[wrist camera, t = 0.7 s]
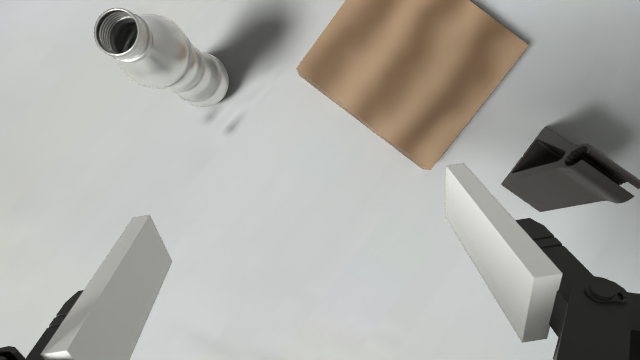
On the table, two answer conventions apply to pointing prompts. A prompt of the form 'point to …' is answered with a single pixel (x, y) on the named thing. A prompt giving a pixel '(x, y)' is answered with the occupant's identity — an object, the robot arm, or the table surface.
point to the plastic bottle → (161, 56)
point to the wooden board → (411, 68)
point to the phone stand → (566, 175)
